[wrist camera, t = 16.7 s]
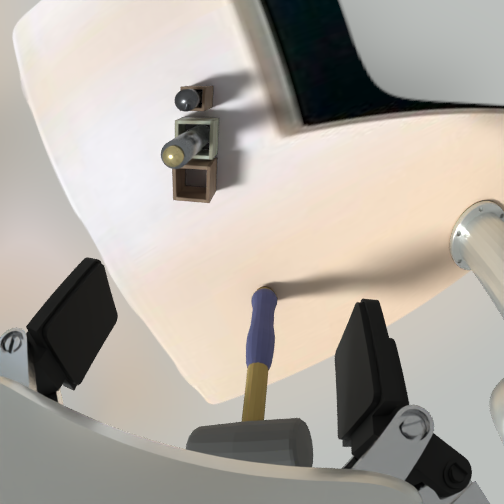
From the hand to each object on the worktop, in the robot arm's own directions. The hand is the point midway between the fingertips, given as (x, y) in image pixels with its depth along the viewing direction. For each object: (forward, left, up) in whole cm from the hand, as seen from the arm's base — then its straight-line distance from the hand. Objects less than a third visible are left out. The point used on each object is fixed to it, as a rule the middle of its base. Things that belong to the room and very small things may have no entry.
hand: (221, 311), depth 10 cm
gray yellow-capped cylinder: (+8, 0, -29) cm, 30 cm away
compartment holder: (+8, 0, -29) cm, 30 cm away
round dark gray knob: (+8, -5, -28) cm, 30 cm away
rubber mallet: (-3, +24, -29) cm, 37 cm away
